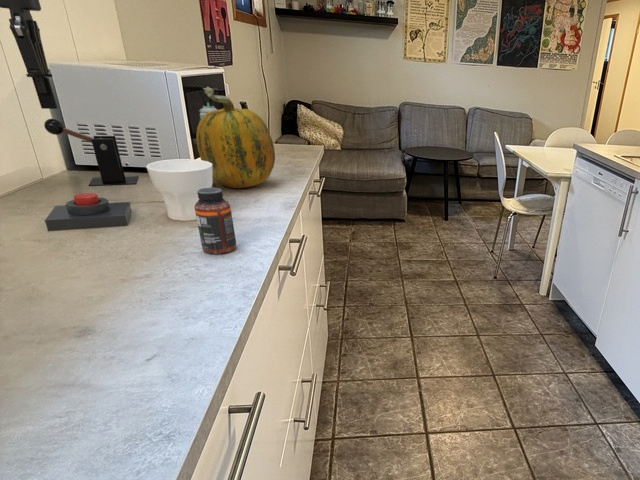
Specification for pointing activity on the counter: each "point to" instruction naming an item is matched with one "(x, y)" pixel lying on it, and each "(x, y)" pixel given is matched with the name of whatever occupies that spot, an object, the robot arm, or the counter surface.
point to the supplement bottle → (214, 221)
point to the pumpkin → (235, 144)
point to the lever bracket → (109, 163)
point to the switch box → (88, 215)
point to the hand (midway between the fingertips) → (49, 108)
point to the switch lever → (63, 130)
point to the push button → (86, 199)
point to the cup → (180, 184)
